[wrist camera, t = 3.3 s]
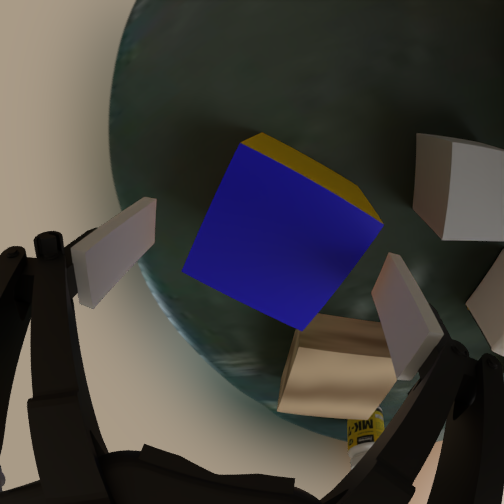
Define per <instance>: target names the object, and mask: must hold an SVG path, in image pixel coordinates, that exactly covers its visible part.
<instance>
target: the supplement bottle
mask: <svg viewBox="0 0 504 504" xmlns="http://www.w3.org/2000/svg"><path fill="white" fill-rule="evenodd" d="M347 428H348V455H349V457H350V458H351V470H352V469H353V468H354V466H355V465H356V464H357V463H358V462H359V461H360V460H361V458H362V457H363V456H364V455H365V454H366V452H367V451H368V450H369V449H370V448H371V446H372V445H373V444H374V443H375V441H376V440H377V439H378V438H379V436H380V435H381V434H382V432H383V431H384V422H383V414H382V409H381V408H380V407H379V406H378V407H377V408H376V410H375V411H374V412H373V414H372V415H371V416H370V417H369V419H368V420H358V419H347Z"/></svg>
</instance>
